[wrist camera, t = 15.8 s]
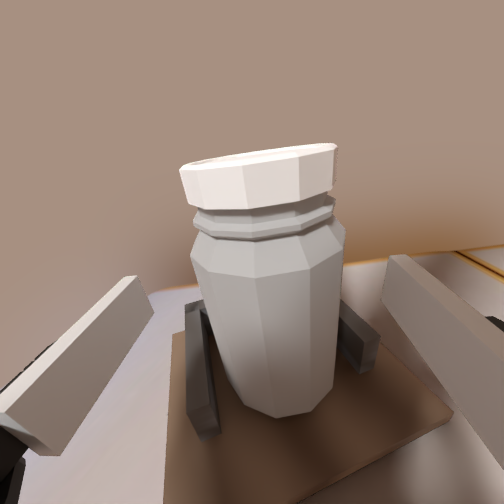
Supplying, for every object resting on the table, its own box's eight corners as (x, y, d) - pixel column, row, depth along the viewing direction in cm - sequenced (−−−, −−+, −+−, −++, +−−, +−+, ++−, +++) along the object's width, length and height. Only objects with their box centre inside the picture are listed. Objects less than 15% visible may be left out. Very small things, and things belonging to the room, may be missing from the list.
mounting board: (322, 293, 29) (322, 261, 27) (449, 421, 15) (474, 377, 13) (175, 341, 25) (161, 308, 23) (167, 572, 11) (128, 550, 9)
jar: (326, 324, 23) (334, 139, 15) (348, 434, 14) (396, 140, 6) (239, 322, 25) (204, 158, 17) (214, 418, 16) (115, 178, 8)
